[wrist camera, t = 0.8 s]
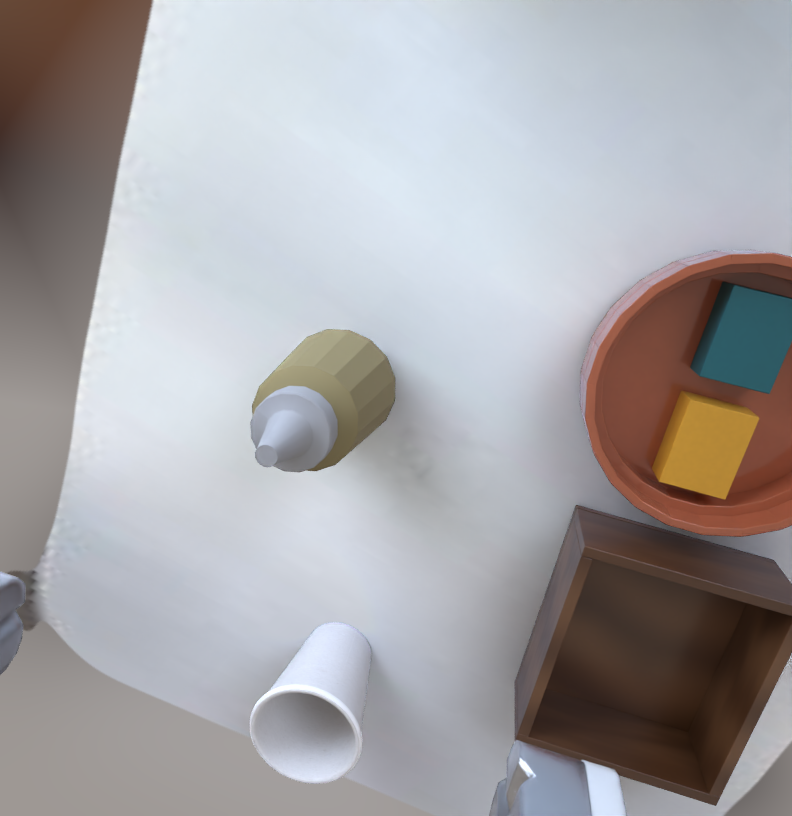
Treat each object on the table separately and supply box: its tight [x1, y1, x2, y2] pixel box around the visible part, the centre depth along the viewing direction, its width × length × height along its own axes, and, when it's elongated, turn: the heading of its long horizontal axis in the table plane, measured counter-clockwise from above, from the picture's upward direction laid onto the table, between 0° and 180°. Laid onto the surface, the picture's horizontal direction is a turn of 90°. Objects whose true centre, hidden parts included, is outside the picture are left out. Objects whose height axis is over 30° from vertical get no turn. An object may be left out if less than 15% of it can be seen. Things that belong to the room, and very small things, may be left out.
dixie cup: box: [250, 622, 371, 784], centre depth 52 cm, size 8×8×10 cm
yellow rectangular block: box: [652, 391, 759, 500], centre depth 45 cm, size 6×4×2 cm
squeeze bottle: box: [251, 329, 395, 472], centre depth 41 cm, size 8×8×18 cm
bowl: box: [580, 250, 792, 537], centre depth 44 cm, size 18×18×4 cm
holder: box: [515, 505, 792, 806], centre depth 48 cm, size 17×15×7 cm
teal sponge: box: [690, 282, 792, 394], centre depth 43 cm, size 6×4×2 cm
